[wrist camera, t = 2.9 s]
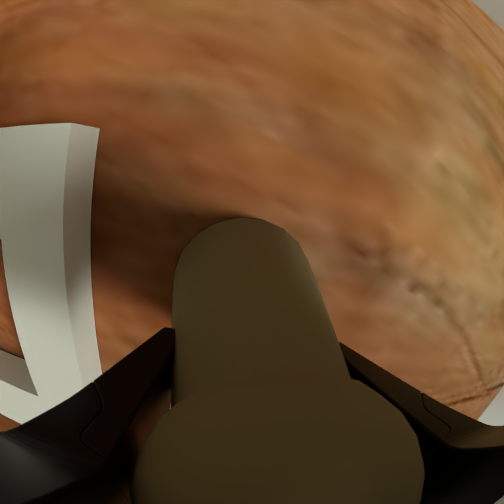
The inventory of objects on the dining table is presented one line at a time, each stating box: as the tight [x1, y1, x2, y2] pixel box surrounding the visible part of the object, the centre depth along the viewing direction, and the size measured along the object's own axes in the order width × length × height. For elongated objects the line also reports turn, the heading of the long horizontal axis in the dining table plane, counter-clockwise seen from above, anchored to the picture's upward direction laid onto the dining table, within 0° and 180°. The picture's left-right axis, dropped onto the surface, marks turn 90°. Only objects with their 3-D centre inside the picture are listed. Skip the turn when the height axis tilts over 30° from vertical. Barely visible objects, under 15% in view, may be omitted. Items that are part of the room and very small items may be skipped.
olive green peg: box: [129, 218, 425, 504], centre depth 7 cm, size 6×6×11 cm
